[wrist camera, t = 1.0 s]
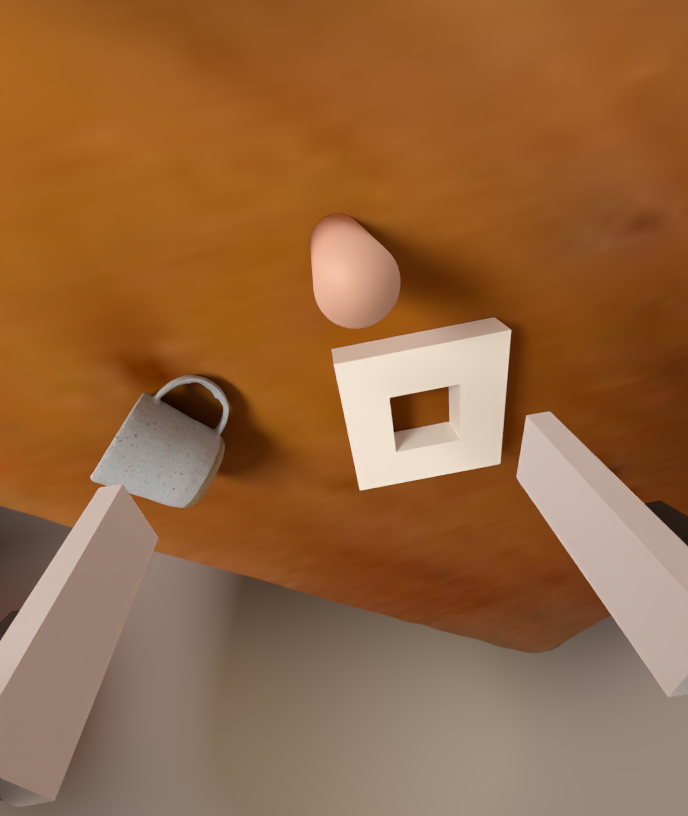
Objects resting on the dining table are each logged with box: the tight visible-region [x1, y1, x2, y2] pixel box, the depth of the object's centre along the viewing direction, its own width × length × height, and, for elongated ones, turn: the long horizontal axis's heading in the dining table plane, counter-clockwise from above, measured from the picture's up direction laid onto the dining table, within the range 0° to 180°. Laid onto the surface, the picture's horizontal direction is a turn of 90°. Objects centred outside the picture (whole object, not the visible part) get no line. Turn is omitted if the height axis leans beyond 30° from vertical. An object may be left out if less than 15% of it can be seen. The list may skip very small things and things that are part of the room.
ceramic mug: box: [90, 375, 229, 508], centre depth 31 cm, size 11×8×8 cm
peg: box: [310, 213, 401, 328], centre depth 22 cm, size 4×4×12 cm
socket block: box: [332, 317, 511, 490], centre depth 34 cm, size 14×14×3 cm
